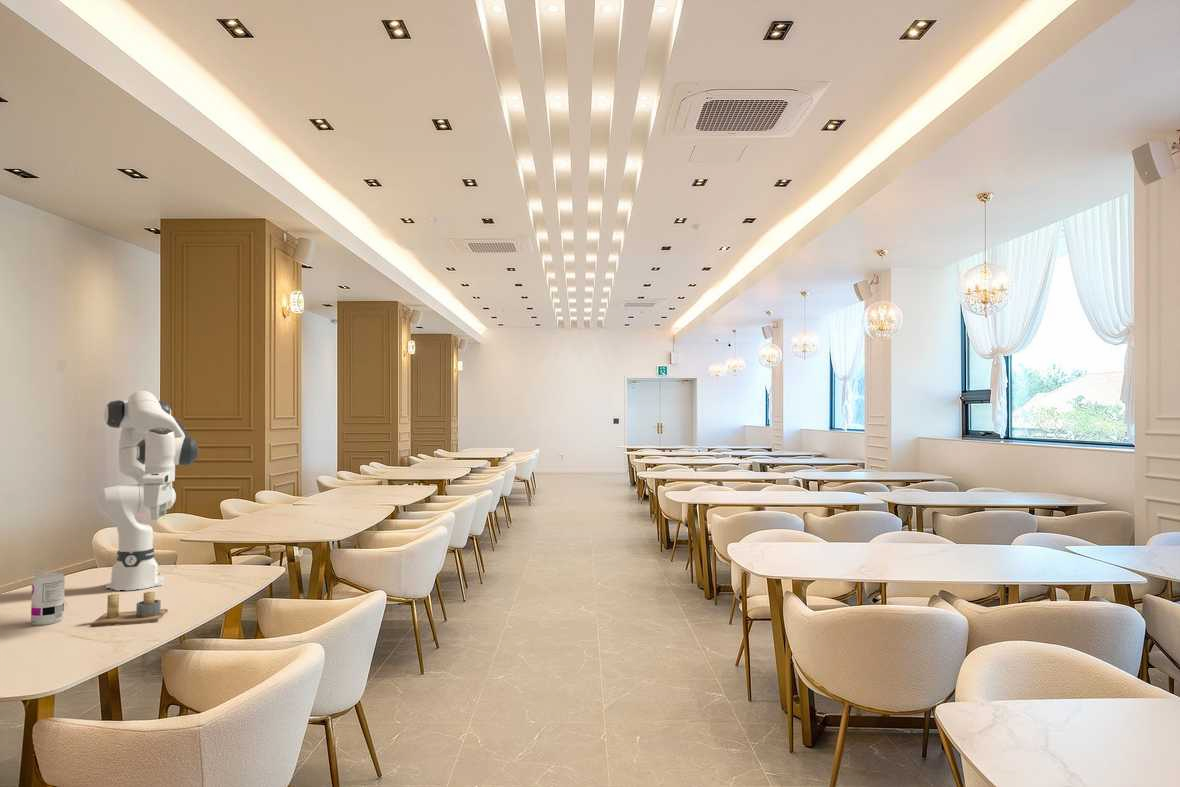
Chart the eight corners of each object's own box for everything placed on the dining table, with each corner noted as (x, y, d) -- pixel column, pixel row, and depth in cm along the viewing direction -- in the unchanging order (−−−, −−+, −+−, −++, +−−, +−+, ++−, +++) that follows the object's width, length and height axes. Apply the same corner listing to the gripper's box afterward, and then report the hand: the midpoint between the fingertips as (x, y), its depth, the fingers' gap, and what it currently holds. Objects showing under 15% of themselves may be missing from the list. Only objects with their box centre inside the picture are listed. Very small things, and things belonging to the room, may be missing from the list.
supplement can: (25, 626, 217) (27, 577, 217) (38, 619, 225) (40, 572, 225) (56, 624, 219) (57, 576, 220) (68, 617, 227) (69, 570, 227)
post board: (104, 616, 228) (105, 591, 229) (167, 611, 234) (168, 587, 234) (91, 626, 217) (91, 600, 217) (157, 621, 223) (158, 596, 223)
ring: (139, 612, 229) (140, 600, 229) (162, 611, 231) (162, 599, 231) (134, 618, 223) (134, 605, 223) (156, 616, 225) (157, 604, 225)
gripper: (157, 474, 246) (156, 513, 246) (140, 479, 227) (138, 522, 226) (178, 474, 248) (176, 513, 248) (162, 478, 229) (161, 521, 228)
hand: (158, 517), depth 237 cm, fingers open, 8 cm apart
